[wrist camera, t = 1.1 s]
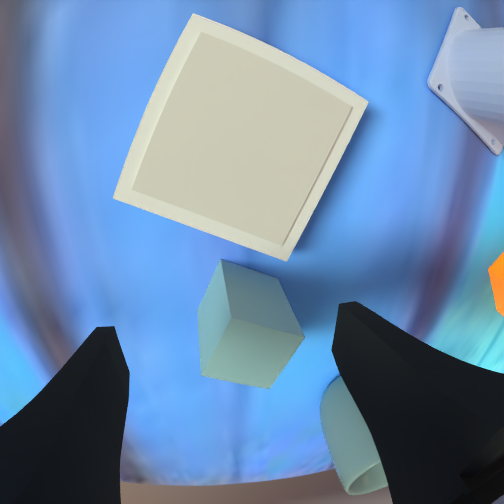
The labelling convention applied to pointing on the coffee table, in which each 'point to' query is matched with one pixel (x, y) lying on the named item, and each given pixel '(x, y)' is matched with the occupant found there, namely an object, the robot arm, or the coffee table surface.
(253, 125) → the tray
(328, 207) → the coffee table surface
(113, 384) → the robot arm
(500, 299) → the orange juice
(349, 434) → the cup
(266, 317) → the block
